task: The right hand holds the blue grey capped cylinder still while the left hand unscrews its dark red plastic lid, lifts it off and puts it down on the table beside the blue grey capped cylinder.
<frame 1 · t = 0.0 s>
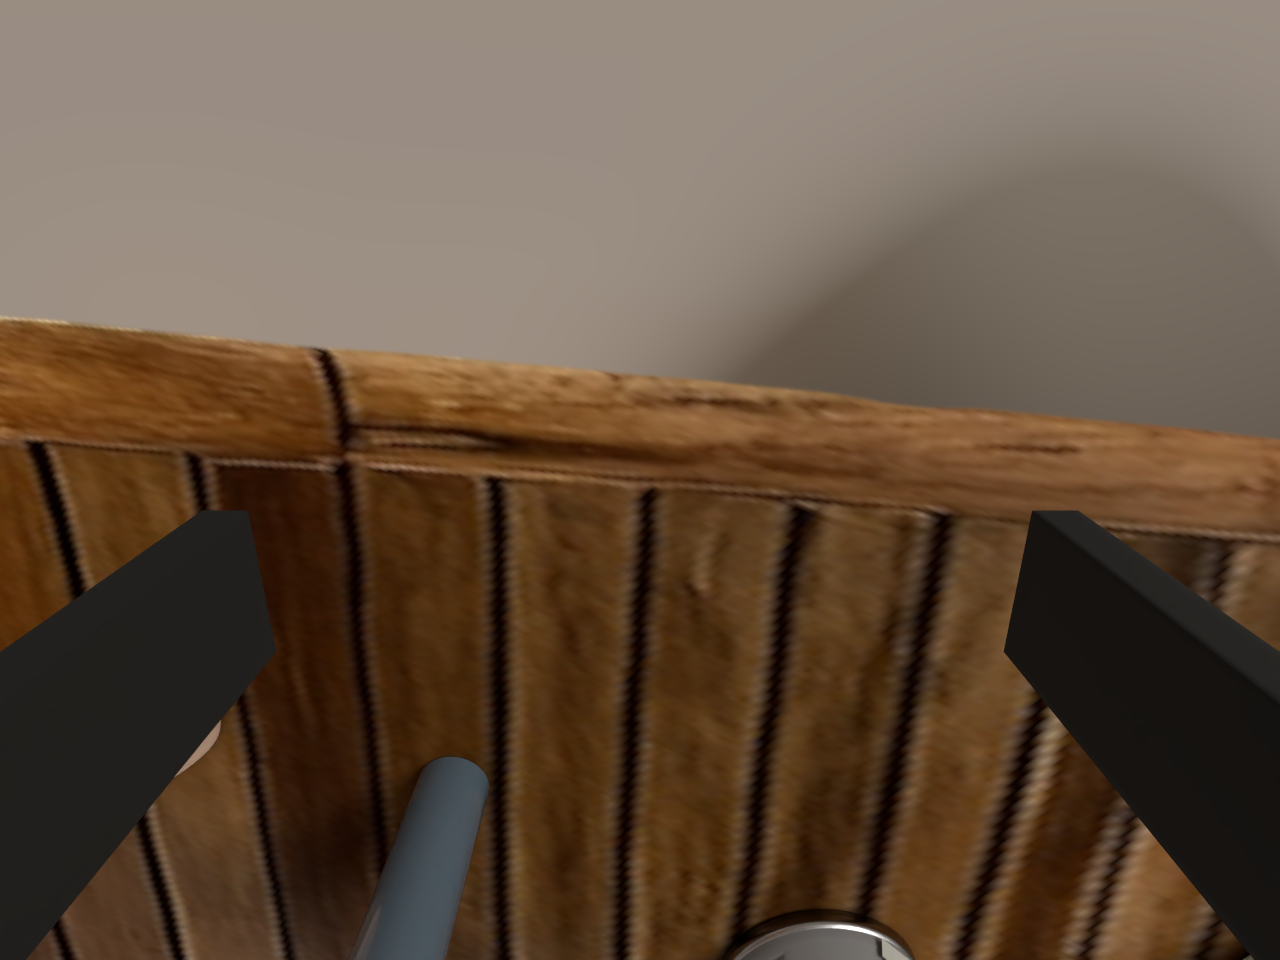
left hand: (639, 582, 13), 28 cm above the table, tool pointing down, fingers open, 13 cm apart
blue grey capped cylinder: (453, 784, 49), on the table
anatomical model: (130, 707, 47), on the table
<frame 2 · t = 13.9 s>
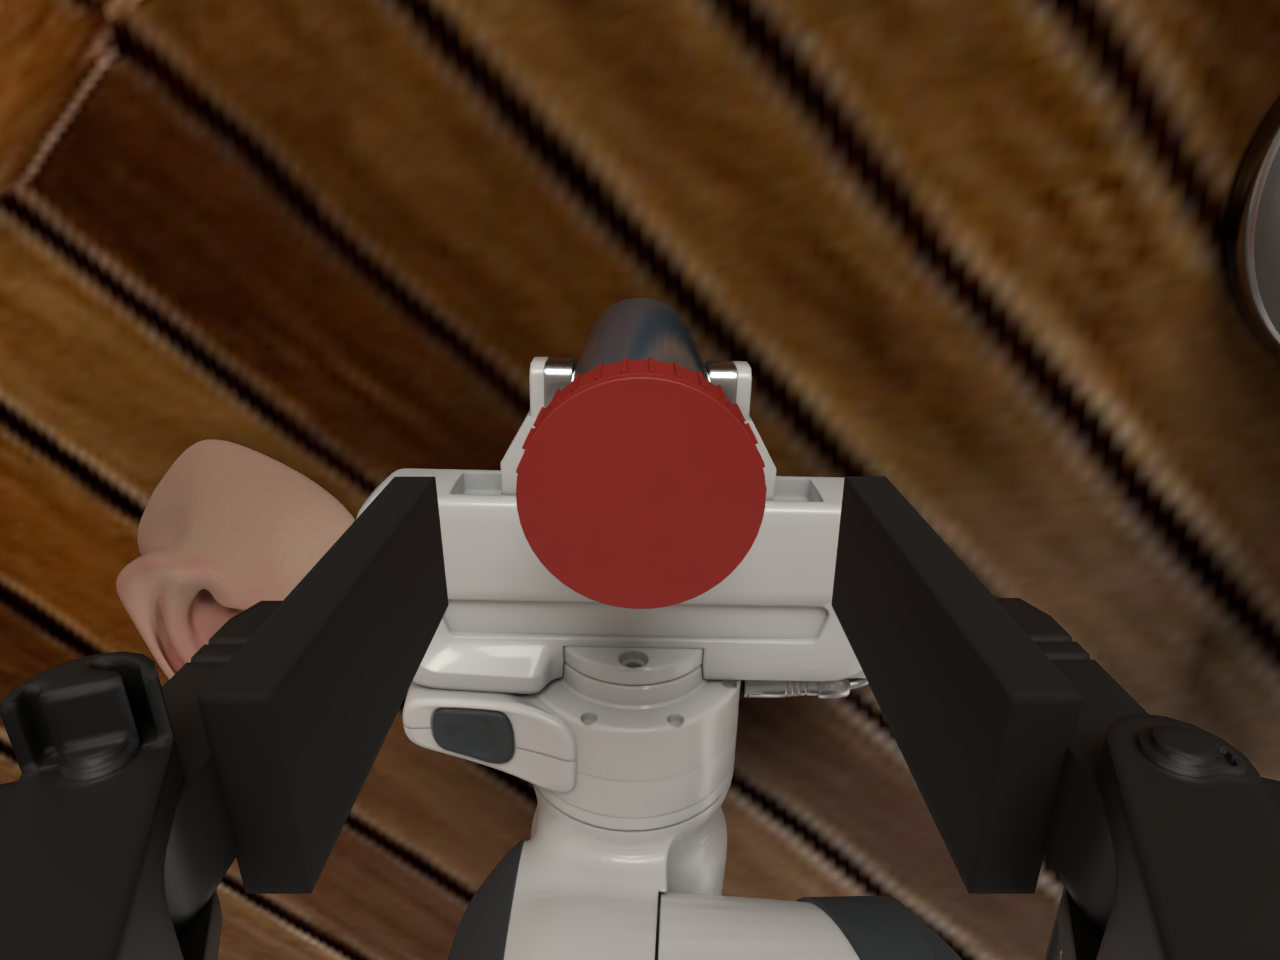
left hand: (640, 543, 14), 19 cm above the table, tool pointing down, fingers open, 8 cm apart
lid: (641, 494, 16), point 17 cm above the table, screwed on, not yet turned
blue grey capped cylinder: (640, 353, 32), on the table, touching right hand
anatomical model: (264, 576, 36), on the table
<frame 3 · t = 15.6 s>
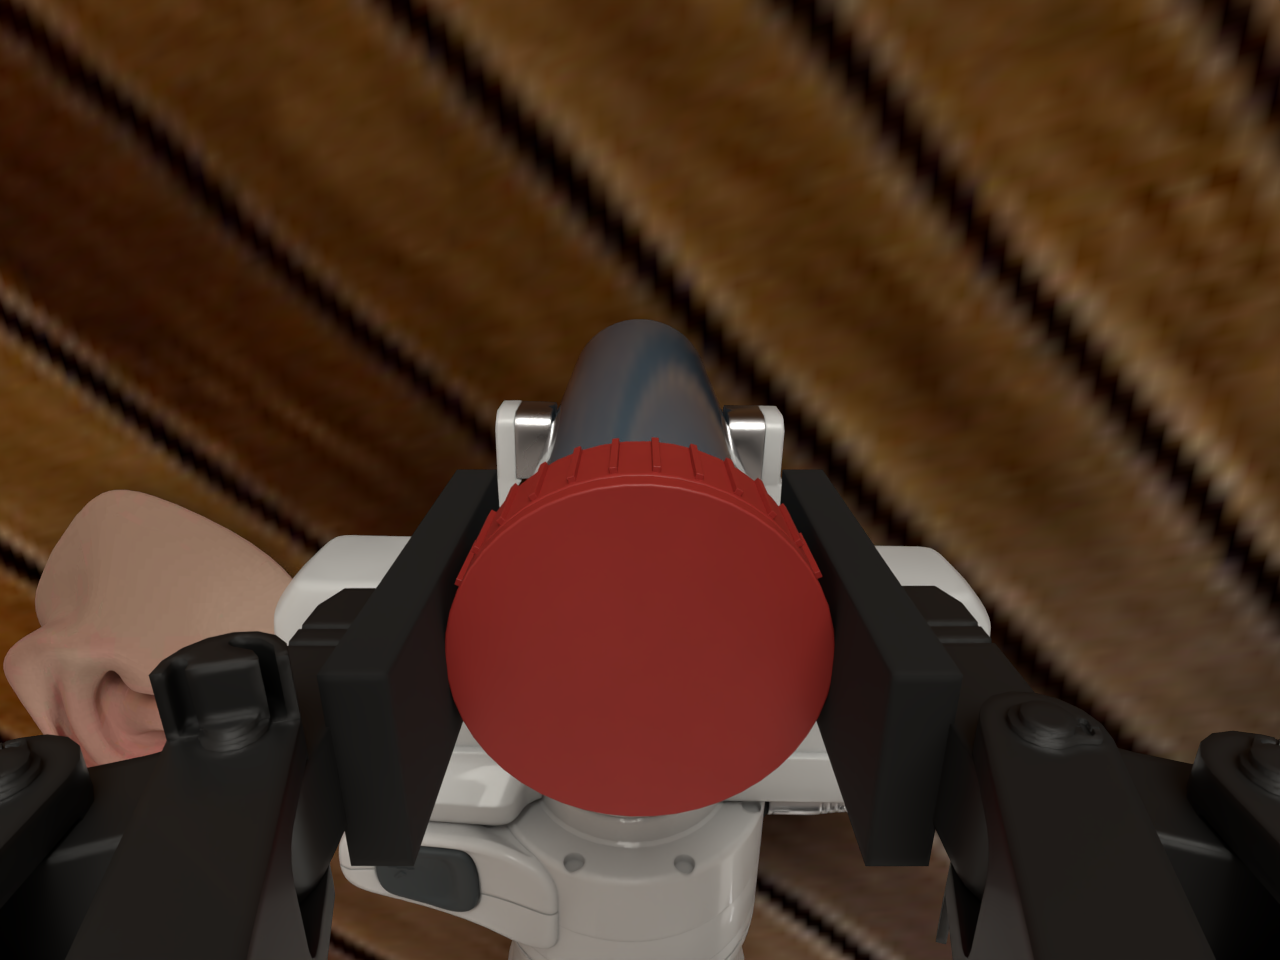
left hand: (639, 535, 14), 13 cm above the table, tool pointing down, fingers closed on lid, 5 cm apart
lid: (639, 652, 11), point 17 cm above the table, screwed on, not yet turned, touching left hand
blue grey capped cylinder: (639, 386, 26), on the table, touching right hand
anatomical model: (191, 648, 30), on the table
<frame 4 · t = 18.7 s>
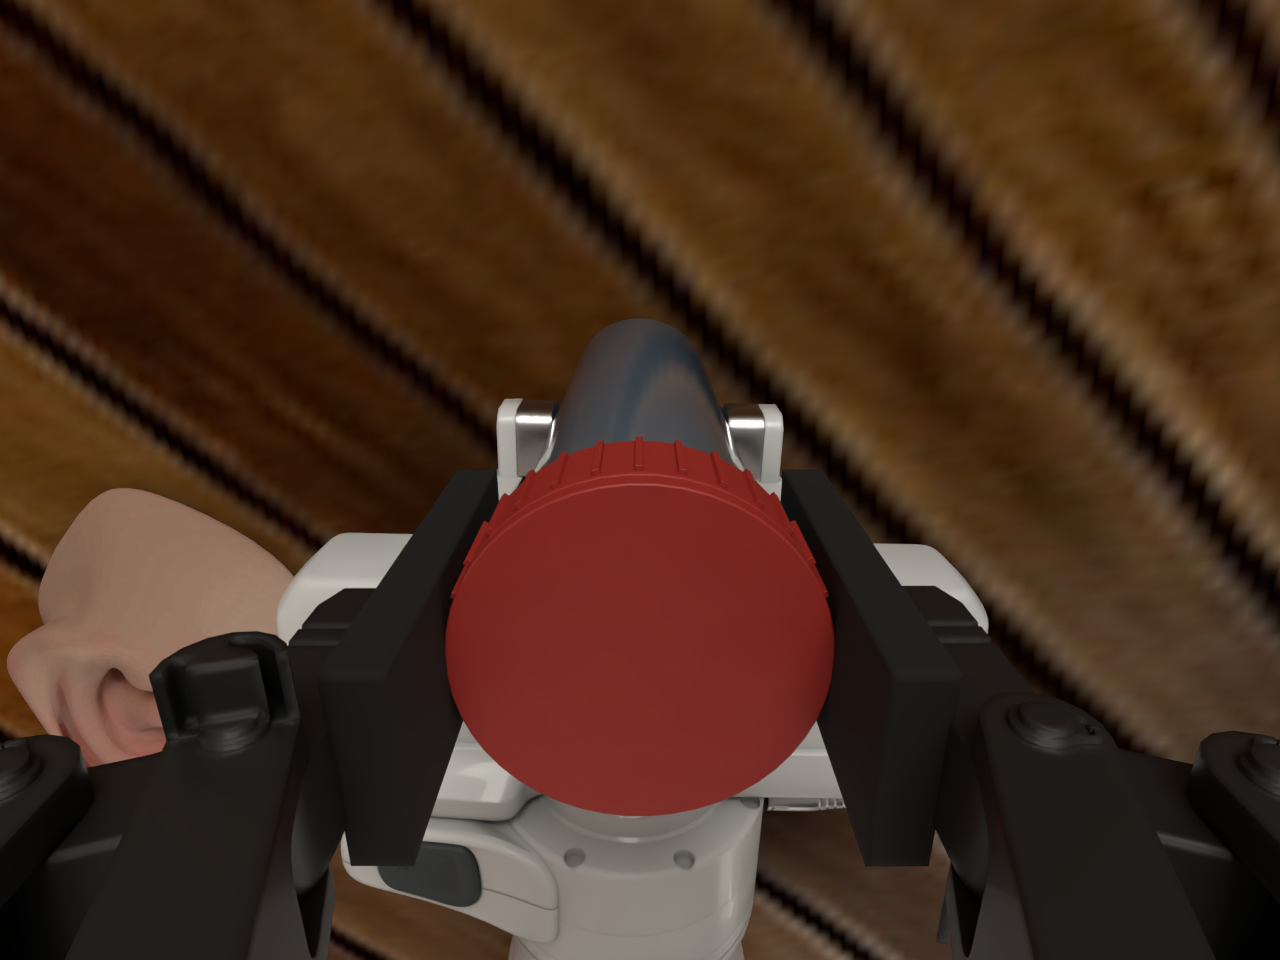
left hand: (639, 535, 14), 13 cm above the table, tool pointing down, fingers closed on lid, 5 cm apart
lid: (639, 651, 11), point 17 cm above the table, turned 89° so far, risen 0.1 cm, still on its thread, touching left hand
blue grey capped cylinder: (639, 385, 26), on the table, touching right hand
anatomical model: (193, 645, 30), on the table
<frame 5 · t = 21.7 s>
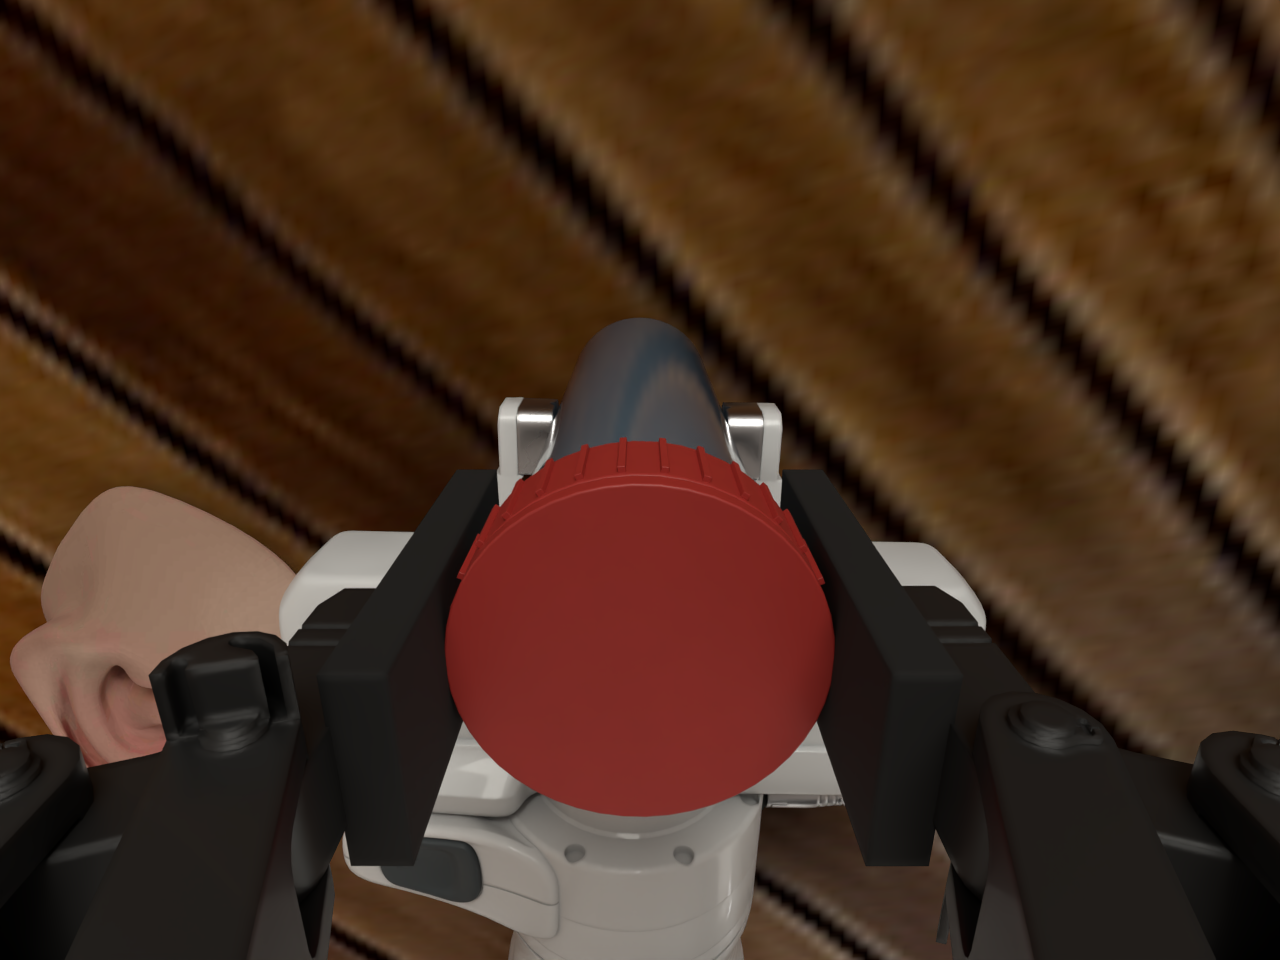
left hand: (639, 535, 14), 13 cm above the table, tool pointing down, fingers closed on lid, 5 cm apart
lid: (639, 652, 11), point 17 cm above the table, turned 178° so far, risen 0.3 cm, still on its thread, touching left hand
blue grey capped cylinder: (639, 384, 26), on the table, touching right hand
anatomical model: (195, 643, 30), on the table
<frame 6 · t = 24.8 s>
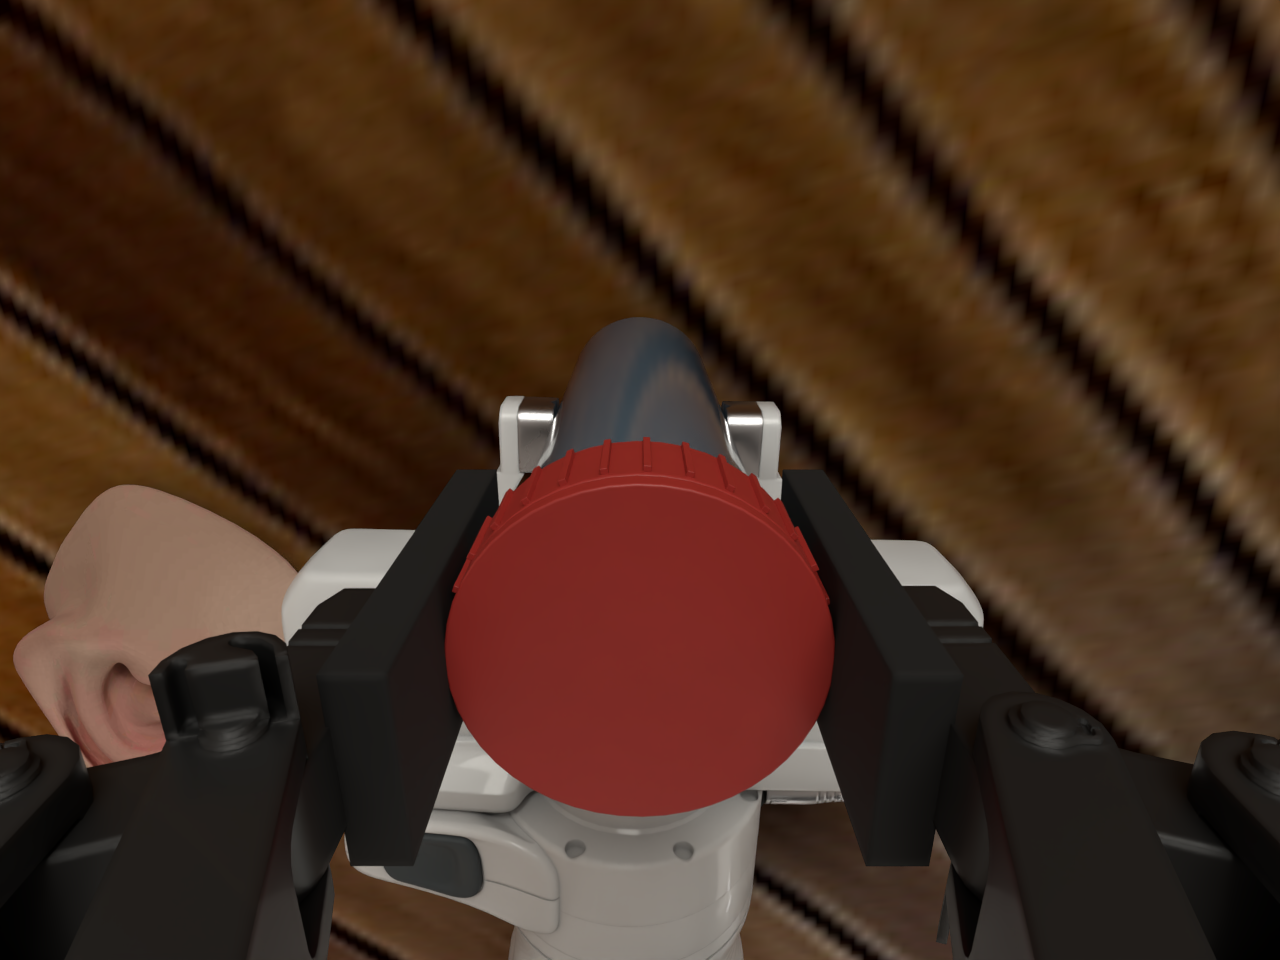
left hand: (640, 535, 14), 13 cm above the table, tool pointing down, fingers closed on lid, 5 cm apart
lid: (639, 652, 11), point 17 cm above the table, turned 267° so far, risen 0.5 cm, still on its thread, touching left hand
blue grey capped cylinder: (639, 383, 27), on the table, touching right hand
anatomical model: (197, 641, 30), on the table
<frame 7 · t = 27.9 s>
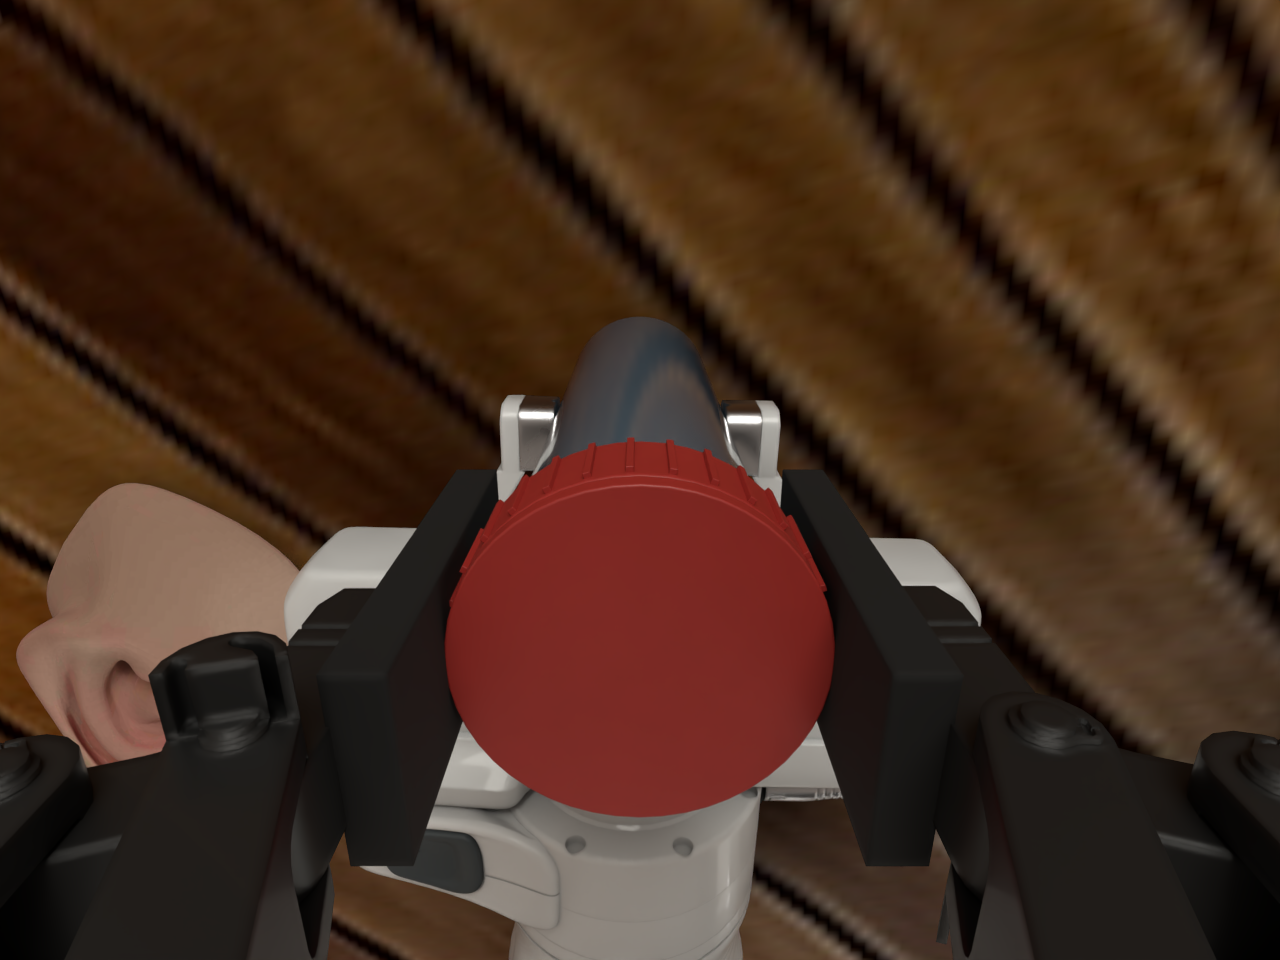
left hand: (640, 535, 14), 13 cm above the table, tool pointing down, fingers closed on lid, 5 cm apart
lid: (639, 652, 11), point 17 cm above the table, turned 355° so far, risen 0.6 cm, still on its thread, touching left hand
blue grey capped cylinder: (639, 382, 27), on the table, touching right hand
anatomical model: (199, 639, 30), on the table
when the left hand's fingers open (0 cm above the table, at t = 34.1 s): lid drops 2 cm, point 2 cm above the table.
when the right hand's fingers open (6 cm above the table, at t = 34.8 s): blue grey capped cylinder stays where it is, on the table.
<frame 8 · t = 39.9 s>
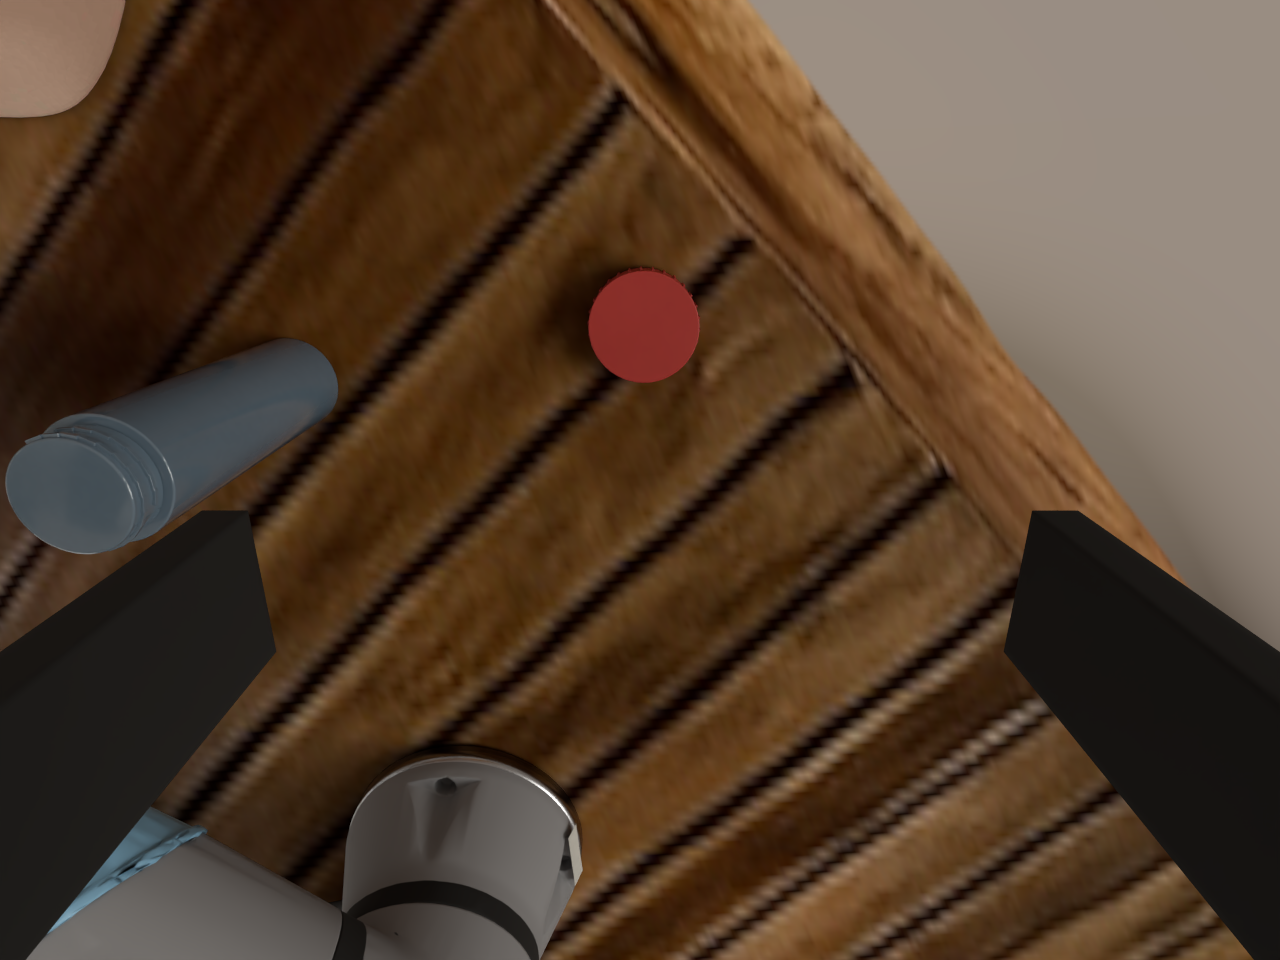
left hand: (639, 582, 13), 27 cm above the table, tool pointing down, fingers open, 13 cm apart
lid: (643, 327, 37), point 2 cm above the table, off its thread
blue grey capped cylinder: (293, 382, 39), on the table
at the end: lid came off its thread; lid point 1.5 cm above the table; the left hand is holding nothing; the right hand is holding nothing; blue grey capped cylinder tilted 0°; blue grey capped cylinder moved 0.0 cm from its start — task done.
